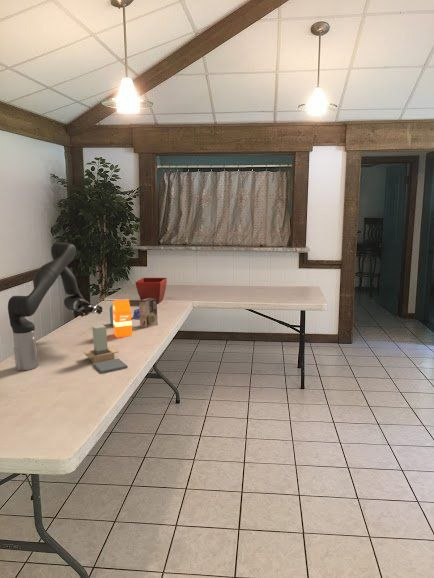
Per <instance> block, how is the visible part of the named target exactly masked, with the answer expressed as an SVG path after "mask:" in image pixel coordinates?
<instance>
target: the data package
mask: <svg viewBox="0 0 434 578" xmlns="http://www.w3.org/2000/svg"><path fill="white" fill-rule="evenodd" d="M109 317H110V318H109V319H110V325H112V326H114V324H113V304H111V305H110V306H109Z"/></svg>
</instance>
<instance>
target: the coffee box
mask: <svg viewBox="0 0 434 578" xmlns="http://www.w3.org/2000/svg"><path fill="white" fill-rule="evenodd" d="M157 305H158V303H157V301H156V299H154V298H147V299H142V300H141V299H139V300H138V309H139V312H140V318H139V326H140V327H143V328H147V329H148V328H150V327H153V326H157V325H159V321H158V306H157Z"/></svg>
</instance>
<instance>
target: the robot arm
mask: <svg viewBox="0 0 434 578" xmlns="http://www.w3.org/2000/svg"><path fill="white" fill-rule="evenodd" d="M50 252H51V257H52V260H51V261H49V262H47V263H45V264H44V265H42V266H41V267H39V269H38V270H37V271H36V272H35V274H34V276H33V279H32V283H33V290H32V291H31V293H30V294H28V295H12V296H11V297H10V298H9V299H8V302H7V313H8V318H9V324H10V327H11V329H12V336H13V353H14V354H13V355H14V363H15V368H16V370H17V371H18V370H19V371H30V370H33V369H36V368H38V367H39V360H38V359H39V358H38V349H37V340H36V339H37V337H36V330H35V329H36V328H35V324H34V323H33V322H32V321H30V320H28V319H27V318H26V317H32V316H33V315H34V314H35V313H36V312H37V310H38V308H39V306H40V305H41V303H42V301H43V299H44V297H45V295H47V293H48V292H49V290H50V288H52V286H53V285H54V283H56V281H57V279H58V277H59V276H60V278H61V281H62V284H63V285H62V286H63V289H64V293H65V294H66V295H69V296H67V297H65V298H64V300H63V305H64V307H65V308H67V310H68V311H69V310H70V311H71V312H72V315H73V316H74V317H76V316H78V317H79V316H80V317H84V316H88V315H90V314H98V315H100V314H102V313H103V306H101V305H98V304H97V305H96V306H94V305H91V303H90V302H89V301H87V300H86V299H85V298H84V297H83V295H82V294H81V292H80V289H79V287H78V282H77V279H76V276H75V275H74V273H73V272H72V271H71V270H70V268H69V267H68V266H69V264H70V263H71V262H73V260H74V258H75V256H76V254H77V247H76V245H74V244H73V243H69V242H54V243H52V245H51V249H50Z"/></svg>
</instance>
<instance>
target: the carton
mask: <svg viewBox="0 0 434 578" xmlns="http://www.w3.org/2000/svg"><path fill="white" fill-rule="evenodd" d="M107 349H108V353H106V354H101V355H94V349H91V350H86V351H82V353H83V355H85V357H86V358H87V359H89V360H91V362H92V364H93V363H97V362H102V361H108V360H113V359H115V354H119V353H120V351H119V350H118V349H116V348H115V347H114V346H107Z"/></svg>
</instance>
